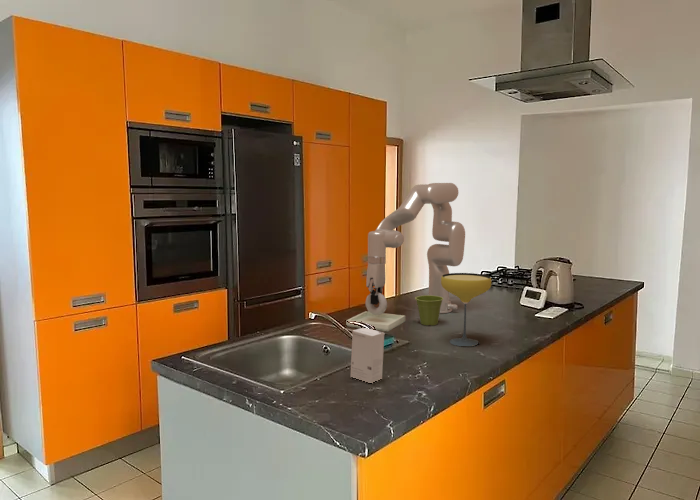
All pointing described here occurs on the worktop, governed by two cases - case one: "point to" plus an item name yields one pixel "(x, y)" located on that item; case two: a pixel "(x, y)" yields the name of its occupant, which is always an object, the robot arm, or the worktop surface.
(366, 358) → the skincare box
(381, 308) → the donut
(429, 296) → the plant pot
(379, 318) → the tray
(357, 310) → the worktop surface
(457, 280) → the cocktail glass
